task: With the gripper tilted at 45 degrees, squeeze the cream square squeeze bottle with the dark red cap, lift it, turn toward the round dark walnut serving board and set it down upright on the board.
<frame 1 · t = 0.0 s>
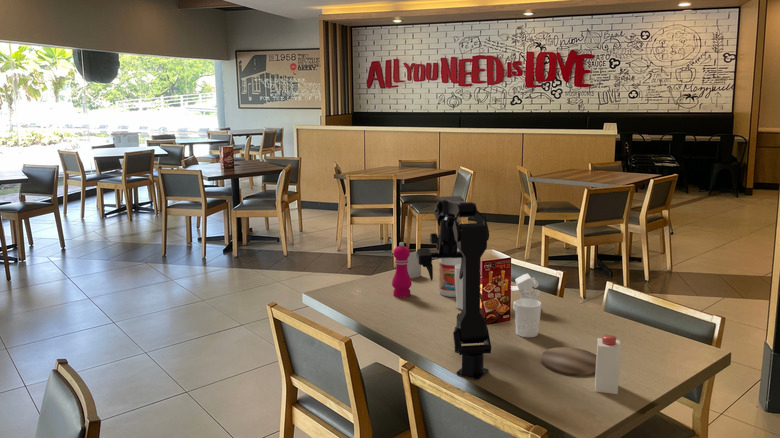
hand: (445, 279, 195), 15 cm above the table, tool pointing down, fingers open, 9 cm apart
pepper mill: (401, 295, 230), on the table
tea bag: (411, 277, 253), on the table
white cup: (526, 334, 192), on the table
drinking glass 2: (463, 308, 215), on the table
character figurine: (524, 309, 214), on the table
fruit juice: (451, 294, 231), on the table
walnut serving board: (570, 362, 170), on the table
square squeeze bottle: (606, 388, 156), on the table
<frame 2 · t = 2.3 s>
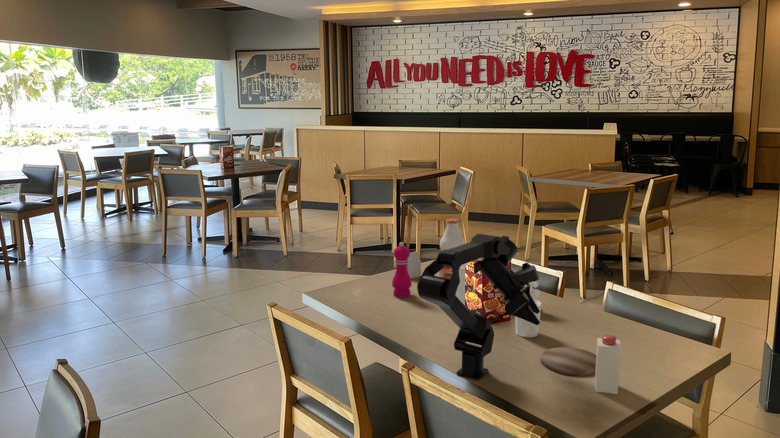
hand: (538, 318, 166), 14 cm above the table, tool tilted 45°, fingers open, 9 cm apart
nothing on the table moved.
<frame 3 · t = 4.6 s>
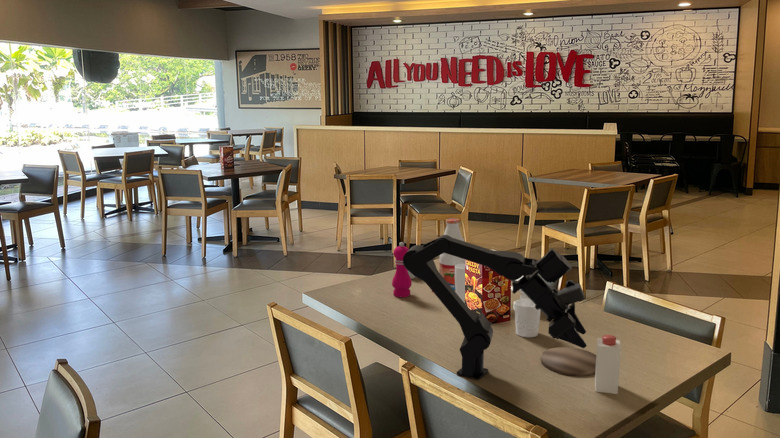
hand: (585, 339, 155), 12 cm above the table, tool tilted 45°, fingers open, 9 cm apart
nothing on the table moved.
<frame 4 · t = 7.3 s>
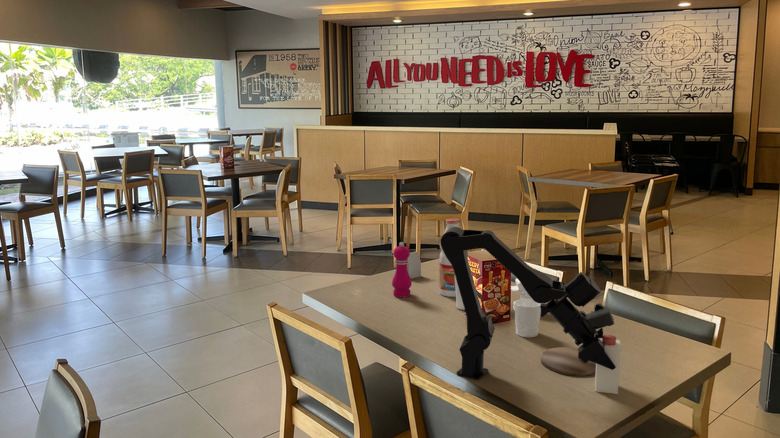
hand: (613, 363, 154), 7 cm above the table, tool tilted 45°, fingers closed on square squeeze bottle, 5 cm apart
square squeeze bottle: (606, 388, 156), on the table, touching gripper
everything else where it was.
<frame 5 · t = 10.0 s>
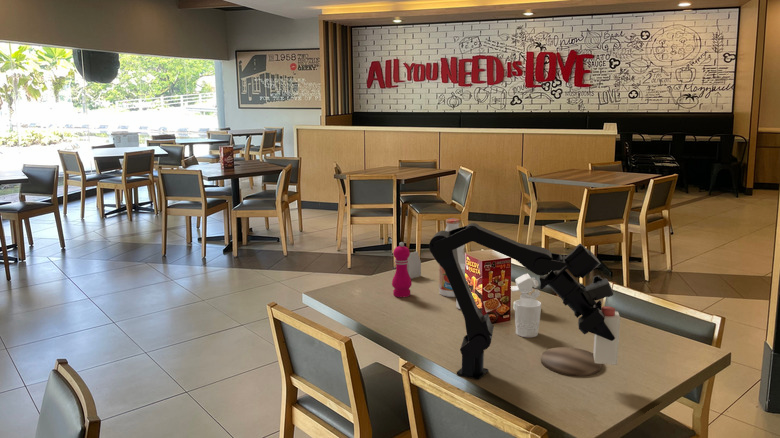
hand: (612, 335, 154), 13 cm above the table, tool tilted 45°, fingers closed on square squeeze bottle, 5 cm apart
square squeeze bottle: (604, 359, 156), point 7 cm above the table, touching gripper
everything else where it was.
when the fingers open (9 cm above the table, at t = 13.0 s): square squeeze bottle drops 1 cm, resting on walnut serving board.
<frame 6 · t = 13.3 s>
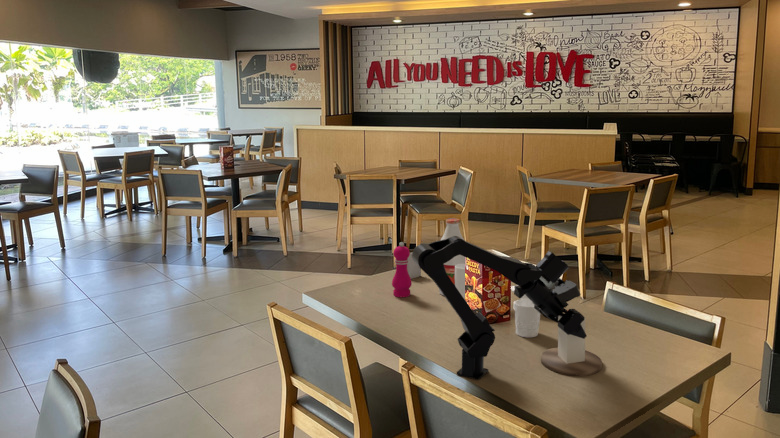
hand: (577, 331, 169), 9 cm above the table, tool tilted 45°, fingers open, 8 cm apart
square squeeze bottle: (571, 358, 170), point 1 cm above the table, touching walnut serving board
everything else where it was.
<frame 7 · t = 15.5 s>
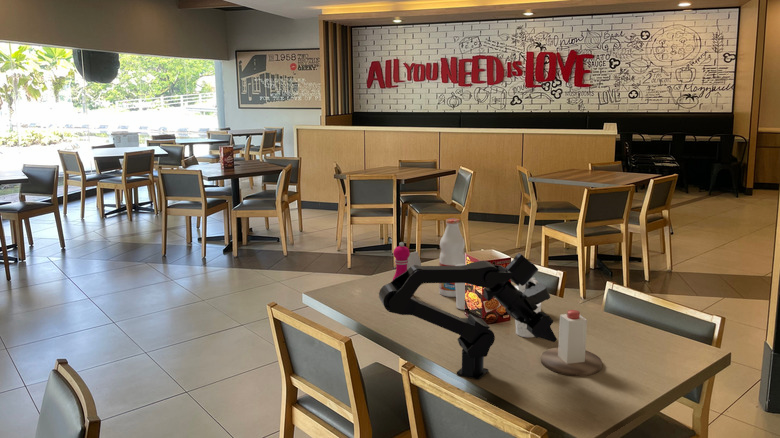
hand: (547, 334, 167), 9 cm above the table, tool tilted 45°, fingers open, 9 cm apart
nothing on the table moved.
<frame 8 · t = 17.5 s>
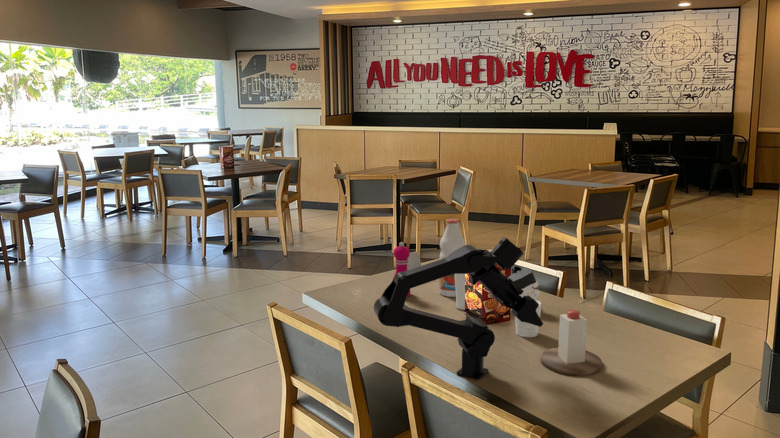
hand: (534, 319, 165), 14 cm above the table, tool tilted 45°, fingers open, 9 cm apart
nothing on the table moved.
at the end: square squeeze bottle inside the target area on the walnut serving board (0.0 cm from its centre), point 1.2 cm above the walnut serving board's base; square squeeze bottle tilted 0°; the gripper is holding nothing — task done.
